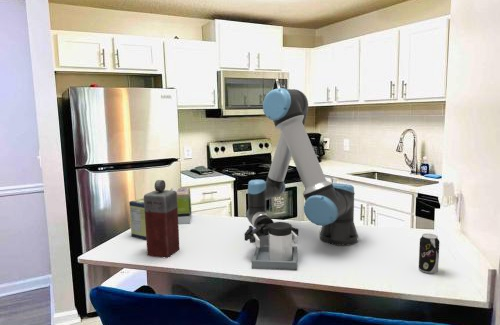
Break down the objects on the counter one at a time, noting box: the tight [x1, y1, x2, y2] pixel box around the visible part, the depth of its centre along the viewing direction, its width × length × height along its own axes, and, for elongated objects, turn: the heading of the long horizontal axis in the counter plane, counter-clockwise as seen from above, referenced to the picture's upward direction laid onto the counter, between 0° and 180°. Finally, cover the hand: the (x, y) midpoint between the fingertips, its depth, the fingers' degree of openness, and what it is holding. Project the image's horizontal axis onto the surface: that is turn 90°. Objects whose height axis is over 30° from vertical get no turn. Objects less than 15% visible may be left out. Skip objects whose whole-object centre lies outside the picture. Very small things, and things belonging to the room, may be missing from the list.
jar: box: [268, 221, 293, 261], centre depth 133 cm, size 9×8×12 cm
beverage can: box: [418, 232, 441, 275], centre depth 121 cm, size 6×6×12 cm
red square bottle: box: [143, 179, 180, 259], centre depth 141 cm, size 9×11×28 cm
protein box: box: [128, 197, 146, 241], centre depth 164 cm, size 10×16×16 cm
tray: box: [251, 244, 298, 271], centre depth 133 cm, size 15×15×3 cm
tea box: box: [170, 187, 193, 225], centre depth 184 cm, size 15×10×15 cm
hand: (277, 241), depth 129 cm, fingers open, 13 cm apart
